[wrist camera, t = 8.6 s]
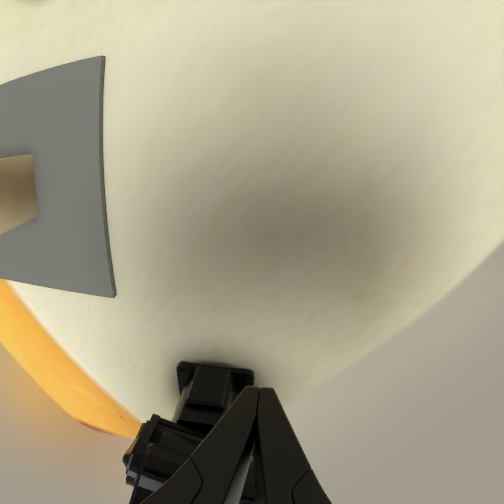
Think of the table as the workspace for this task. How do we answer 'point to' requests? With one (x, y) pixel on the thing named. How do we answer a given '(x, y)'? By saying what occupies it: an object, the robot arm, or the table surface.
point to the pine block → (17, 191)
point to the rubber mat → (59, 179)
